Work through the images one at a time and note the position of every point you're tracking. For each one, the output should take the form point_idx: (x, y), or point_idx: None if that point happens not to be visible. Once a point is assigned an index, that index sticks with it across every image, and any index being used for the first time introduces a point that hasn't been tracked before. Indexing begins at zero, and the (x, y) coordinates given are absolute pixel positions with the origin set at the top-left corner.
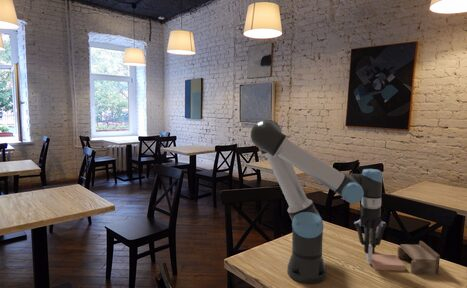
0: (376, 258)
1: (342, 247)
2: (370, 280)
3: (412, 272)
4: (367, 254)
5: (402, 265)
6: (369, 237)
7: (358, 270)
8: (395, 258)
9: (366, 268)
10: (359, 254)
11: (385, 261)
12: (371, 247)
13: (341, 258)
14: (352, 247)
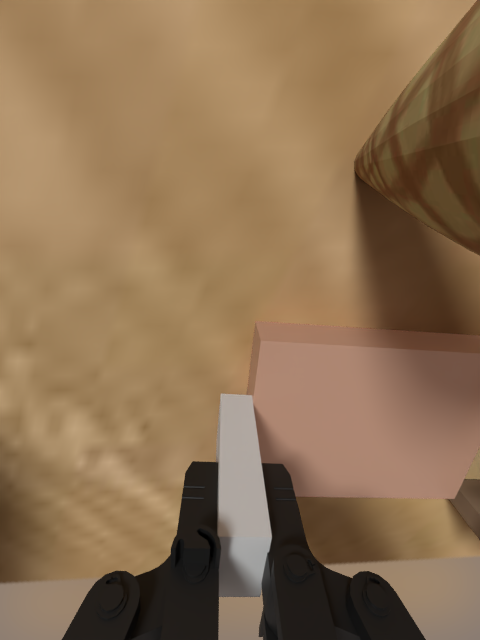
0: (304, 417)
1: (61, 14)
2: (160, 555)
3: (450, 500)
4: (217, 461)
5: (435, 497)
6: (450, 229)
7: (121, 476)
8: (469, 411)
9: (187, 453)
10: (220, 233)
11: (350, 457)
12: (247, 586)
13: (15, 316)
14: (203, 21)
